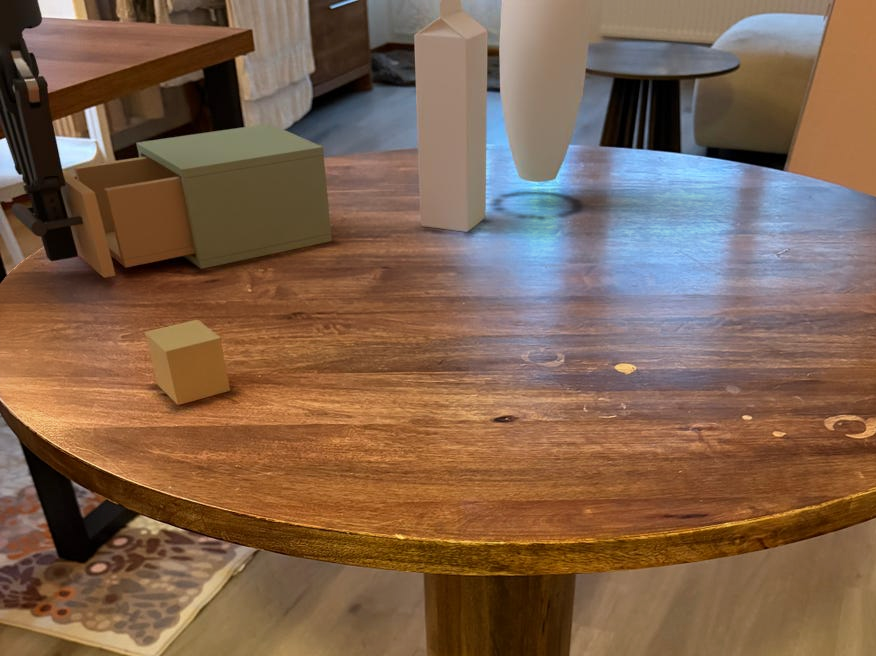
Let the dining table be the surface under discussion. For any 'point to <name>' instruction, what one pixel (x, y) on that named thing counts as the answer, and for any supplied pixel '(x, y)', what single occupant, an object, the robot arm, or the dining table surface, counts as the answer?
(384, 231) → the dining table surface
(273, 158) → the cabinet
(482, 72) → the milk
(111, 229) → the drawer
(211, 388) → the block
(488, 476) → the dining table surface
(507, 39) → the cream tapered vase
